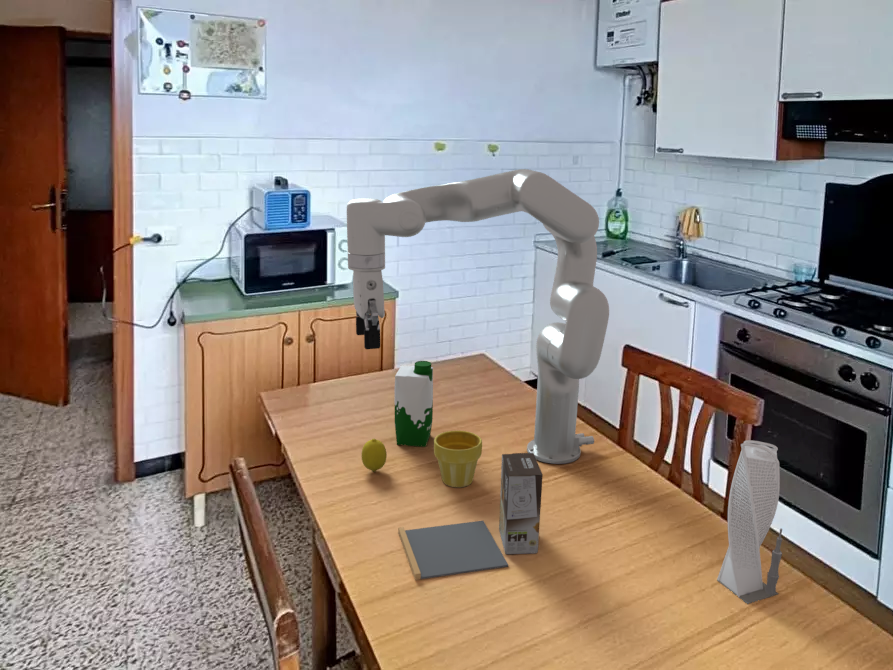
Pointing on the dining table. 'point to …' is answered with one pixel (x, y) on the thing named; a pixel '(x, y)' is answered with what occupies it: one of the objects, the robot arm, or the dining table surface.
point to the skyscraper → (752, 523)
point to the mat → (451, 549)
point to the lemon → (374, 455)
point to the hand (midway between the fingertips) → (367, 341)
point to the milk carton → (414, 404)
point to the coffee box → (520, 503)
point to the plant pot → (457, 456)
